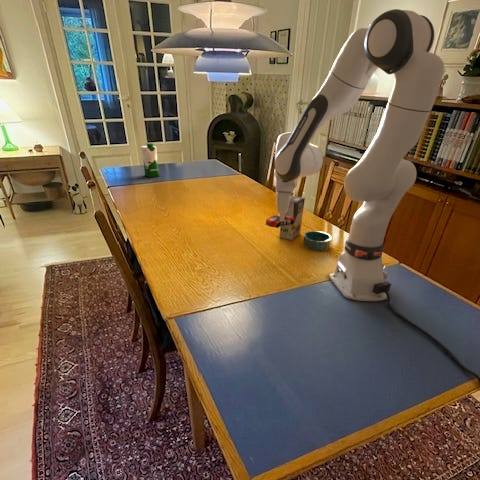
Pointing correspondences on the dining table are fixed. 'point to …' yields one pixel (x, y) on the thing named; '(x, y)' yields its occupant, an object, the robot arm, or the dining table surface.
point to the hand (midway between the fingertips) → (282, 217)
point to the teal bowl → (317, 240)
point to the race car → (275, 221)
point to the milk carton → (150, 160)
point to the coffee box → (297, 213)
